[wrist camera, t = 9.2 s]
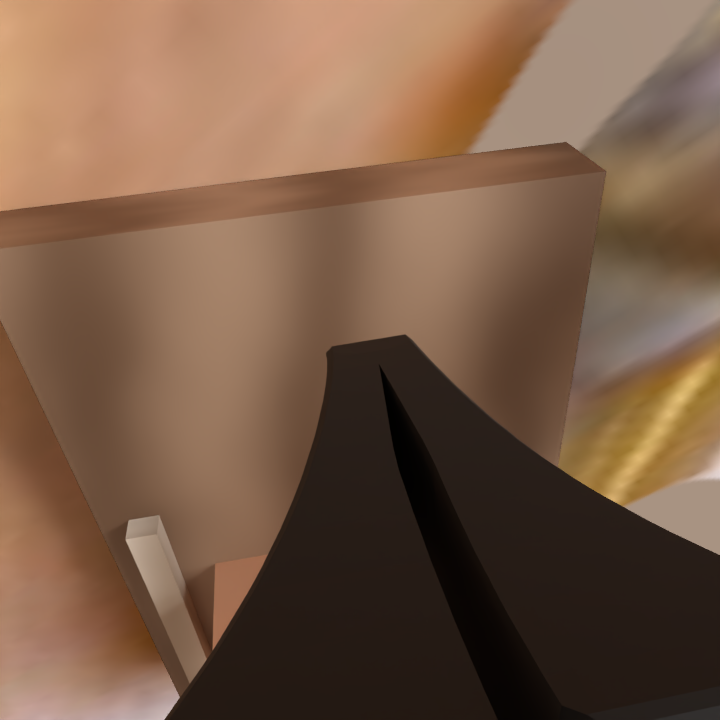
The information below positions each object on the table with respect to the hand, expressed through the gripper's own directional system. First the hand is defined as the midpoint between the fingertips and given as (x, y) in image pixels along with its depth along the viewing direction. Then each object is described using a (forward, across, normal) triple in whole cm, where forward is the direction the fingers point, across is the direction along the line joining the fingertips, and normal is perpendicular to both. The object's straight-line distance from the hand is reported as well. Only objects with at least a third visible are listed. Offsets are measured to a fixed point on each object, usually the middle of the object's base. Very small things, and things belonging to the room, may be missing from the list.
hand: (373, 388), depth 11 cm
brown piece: (+9, +1, +11) cm, 14 cm away
